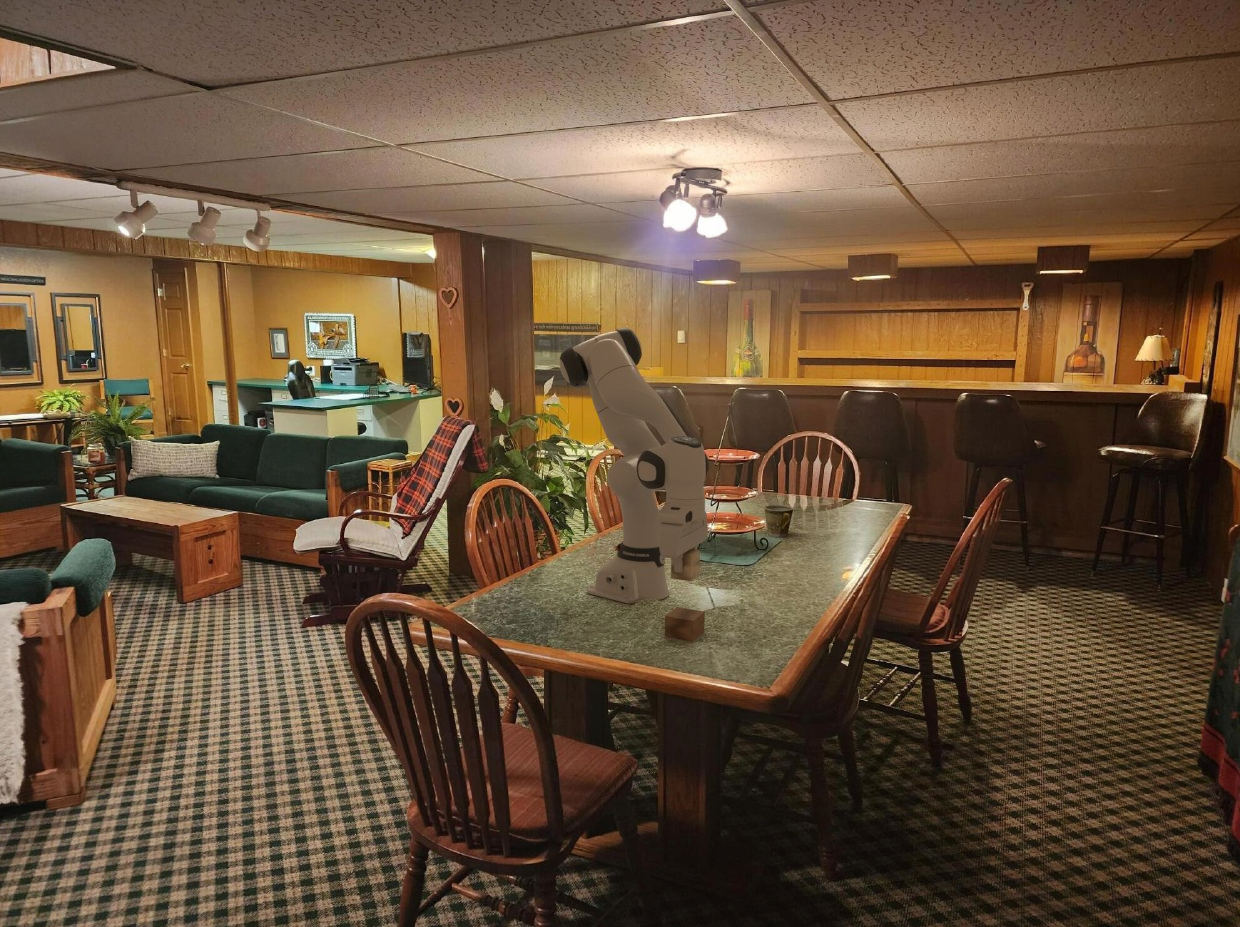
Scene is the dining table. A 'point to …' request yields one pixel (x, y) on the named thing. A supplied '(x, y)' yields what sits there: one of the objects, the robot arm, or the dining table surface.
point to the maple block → (688, 566)
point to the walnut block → (684, 624)
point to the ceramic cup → (778, 519)
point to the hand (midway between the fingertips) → (684, 568)
